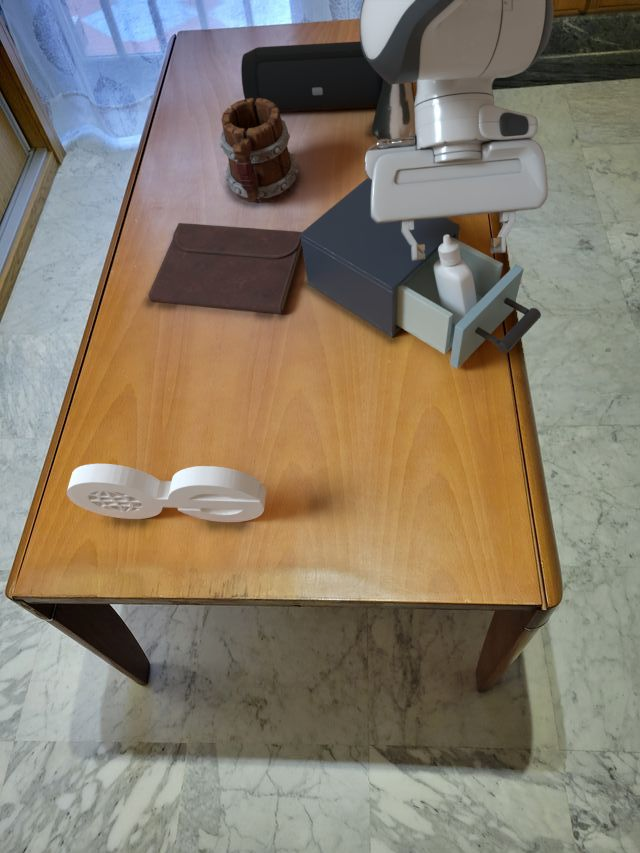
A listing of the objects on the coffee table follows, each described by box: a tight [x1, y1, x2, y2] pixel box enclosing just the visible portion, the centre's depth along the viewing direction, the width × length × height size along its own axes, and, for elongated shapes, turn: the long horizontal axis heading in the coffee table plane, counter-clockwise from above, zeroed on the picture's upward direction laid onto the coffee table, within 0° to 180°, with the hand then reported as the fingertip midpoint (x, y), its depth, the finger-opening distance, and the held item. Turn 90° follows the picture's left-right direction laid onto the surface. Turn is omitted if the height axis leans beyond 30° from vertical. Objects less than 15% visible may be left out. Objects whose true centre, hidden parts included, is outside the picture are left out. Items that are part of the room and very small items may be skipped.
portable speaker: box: [240, 40, 383, 112], centre depth 108 cm, size 26×10×10 cm, turn 86°
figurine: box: [371, 79, 416, 140], centre depth 96 cm, size 9×7×25 cm
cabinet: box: [300, 177, 461, 338], centre depth 86 cm, size 16×14×10 cm
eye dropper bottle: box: [434, 235, 477, 325], centre depth 78 cm, size 4×6×12 cm
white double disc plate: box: [66, 463, 267, 523], centre depth 71 cm, size 22×2×10 cm, turn 86°
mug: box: [219, 98, 299, 204], centre depth 97 cm, size 12×14×15 cm
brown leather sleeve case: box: [148, 222, 303, 315], centre depth 93 cm, size 15×20×2 cm
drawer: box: [396, 237, 542, 370], centre depth 81 cm, size 19×12×8 cm, turn 47°
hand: (458, 256), depth 76 cm, fingers open, 8 cm apart
